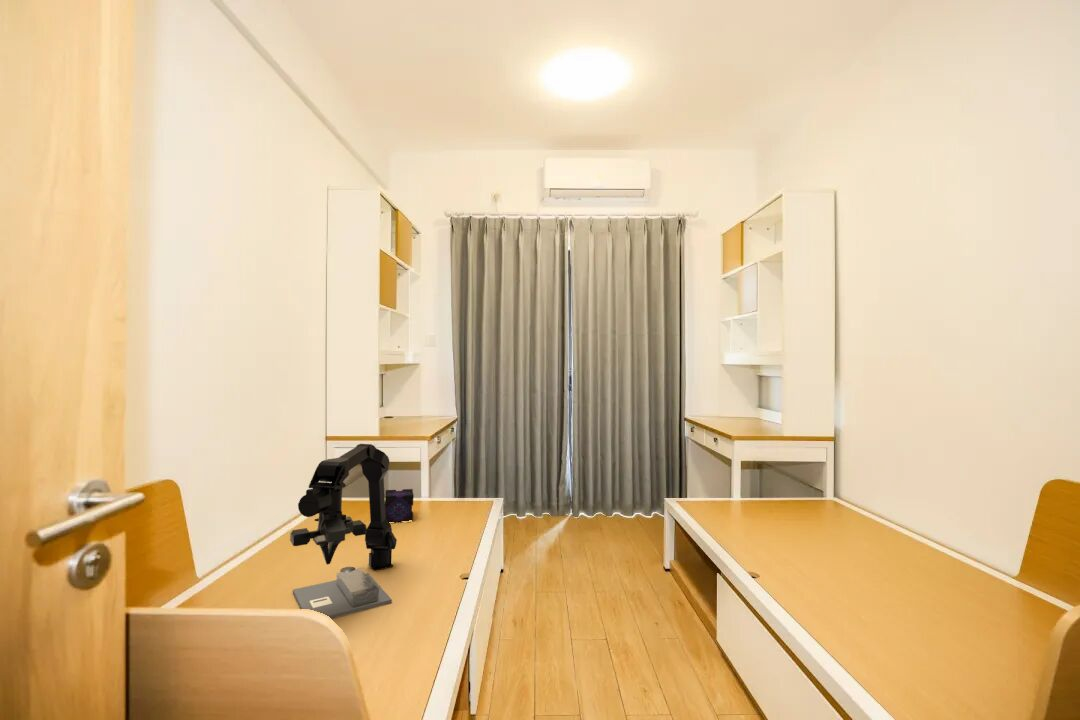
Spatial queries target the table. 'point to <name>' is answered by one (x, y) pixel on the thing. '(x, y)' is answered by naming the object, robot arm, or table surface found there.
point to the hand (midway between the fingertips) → (328, 563)
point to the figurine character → (342, 517)
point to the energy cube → (399, 505)
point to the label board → (334, 599)
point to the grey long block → (357, 586)
